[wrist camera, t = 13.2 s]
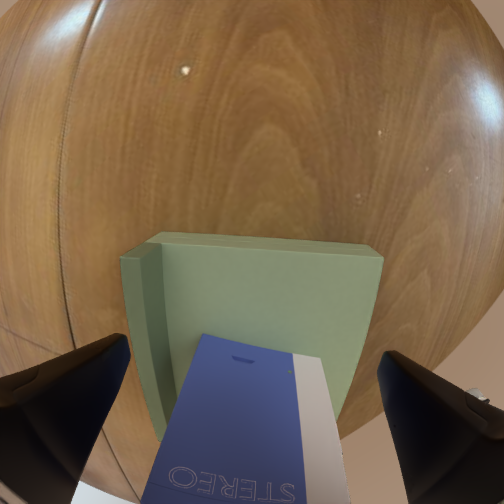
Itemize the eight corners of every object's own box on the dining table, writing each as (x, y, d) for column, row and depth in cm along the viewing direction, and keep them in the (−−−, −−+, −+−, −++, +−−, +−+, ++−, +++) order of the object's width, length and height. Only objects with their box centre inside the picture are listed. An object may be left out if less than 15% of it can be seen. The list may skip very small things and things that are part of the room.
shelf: (367, 244, 17) (407, 275, 12) (328, 403, 22) (339, 454, 16) (161, 231, 18) (118, 256, 12) (176, 393, 22) (158, 441, 16)
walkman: (196, 364, 17) (143, 523, 6) (203, 332, 16) (137, 510, 5) (307, 387, 17) (327, 544, 6) (321, 357, 17) (359, 529, 5)
